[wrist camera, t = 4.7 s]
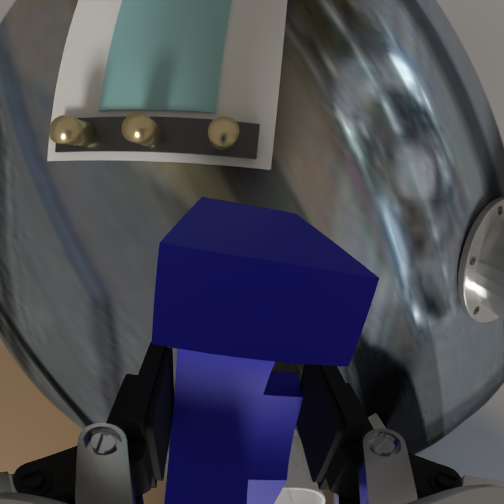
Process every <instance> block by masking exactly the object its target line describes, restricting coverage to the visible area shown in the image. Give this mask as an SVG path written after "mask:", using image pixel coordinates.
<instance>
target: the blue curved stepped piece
mask: <svg viewBox="0 0 504 504" xmlns="http://www.w3.org/2000/svg"><path fill="white" fill-rule="evenodd" d="M378 280H379V278H378V277H377V276H376V275H375V274H373V273H372V272H371V271H370V270H368V269H367V268H366V267H365V266H363V265H362V264H361V263H360V262H358V261H357V260H356V259H355V258H353V257H352V256H351V255H349V254H348V253H347V252H346V251H344V250H343V249H342V248H340V247H339V246H338V245H337V244H335V243H334V242H333V241H331V240H330V239H329V238H327V237H326V236H325V235H323V234H322V233H321V232H320V231H318V230H317V229H316V228H314V227H313V226H312V225H310V224H309V223H308V222H306V221H305V220H303V219H302V218H301V217H299V216H298V215H297V214H294V213H289V212H284V211H279V210H273V209H268V208H262V207H257V206H251V205H246V204H240V203H234V202H228V201H222V200H216V199H210V198H204V197H202V198H201V199H200V200H199V201H198V202H197V203H196V204H195V205H194V206H193V207H192V208H191V209H190V210H189V211H188V212H187V213H186V214H185V216H184V217H183V218H182V219H181V220H180V221H179V222H178V223H177V224H176V225H175V226H174V227H173V229H172V230H171V231H170V232H169V233H168V234H167V235H166V236H165V237H164V239H163V240H162V241H161V242H160V245H159V254H158V264H157V275H156V286H155V299H154V313H153V330H152V344H156V345H161V346H167V347H172V348H177V367H176V382H175V395H174V408H173V419H172V430H171V441H170V451H169V462H168V472H167V483H166V492H165V503H164V504H274V503H275V501H276V499H277V497H278V496H279V494H280V492H281V490H282V488H283V487H284V485H285V483H286V481H287V474H288V465H289V458H290V451H291V445H292V440H293V435H294V431H295V427H296V423H297V419H298V416H299V412H300V409H301V404H302V400H303V395H302V392H301V389H300V381H299V378H298V375H297V373H289V372H276V371H271V370H272V368H273V366H274V364H275V362H286V363H298V364H312V365H329V366H349V364H350V361H351V358H352V356H353V353H354V351H355V348H356V345H357V343H358V340H359V337H360V334H361V332H362V329H363V326H364V323H365V320H366V317H367V314H368V311H369V308H370V305H371V302H372V299H373V296H374V293H375V290H376V287H377V283H378Z"/></svg>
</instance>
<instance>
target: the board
mask: <svg viewBox="0 0 504 504" xmlns="http://www.w3.org/2000/svg"><path fill="white" fill-rule="evenodd" d="M286 11H287V0H79V1H78V4H77V7H76V10H75V13H74V16H73V19H72V22H71V26H70V29H69V33H68V37H67V40H66V44H65V48H64V52H63V57H62V61H61V66H60V70H59V75H58V80H57V86H56V91H55V97H54V104H53V111H52V118H51V123H52V121H53V120H54V119H55V118H56V117H58V116H61V115H65V116H68V117H72V118H89V117H122V116H128V115H130V114H132V113H135V112H140V113H143V114H145V115H147V116H149V117H182V118H200V119H215V118H217V117H220V116H228V117H230V118H232V119H234V120H235V121H237V122H247V123H256V124H260V130H259V139H258V149H257V158H256V159H245V158H235V157H223V156H210V155H196V154H179V153H156V152H63V153H59V152H55V146H56V143H55V142H53V141H52V140H51V138H50V136H49V146H48V160H47V161H74V160H125V161H159V162H180V163H197V164H211V165H224V166H235V167H246V168H256V169H266V170H271V163H272V153H273V144H274V134H275V124H276V114H277V105H278V95H279V84H280V74H281V64H282V54H283V43H284V32H285V22H286Z"/></svg>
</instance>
